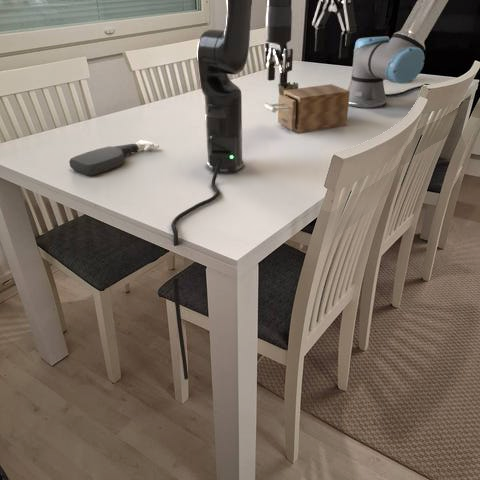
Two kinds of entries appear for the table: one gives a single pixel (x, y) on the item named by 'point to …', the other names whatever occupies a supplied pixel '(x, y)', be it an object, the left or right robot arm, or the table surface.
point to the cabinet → (320, 107)
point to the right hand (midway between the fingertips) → (330, 54)
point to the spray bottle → (106, 157)
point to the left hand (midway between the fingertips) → (276, 82)
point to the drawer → (286, 111)
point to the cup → (287, 87)
